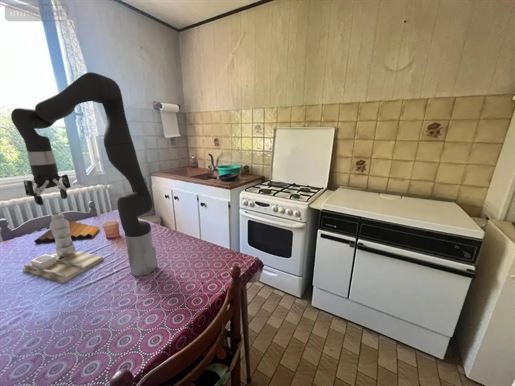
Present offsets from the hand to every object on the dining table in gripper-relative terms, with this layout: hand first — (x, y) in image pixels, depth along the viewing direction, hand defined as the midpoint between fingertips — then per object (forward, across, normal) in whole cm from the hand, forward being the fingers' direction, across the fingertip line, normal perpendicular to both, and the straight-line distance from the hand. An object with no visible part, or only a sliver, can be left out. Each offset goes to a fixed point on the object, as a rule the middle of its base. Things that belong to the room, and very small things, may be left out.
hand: (52, 201), depth 91 cm
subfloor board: (+27, +4, +4) cm, 27 cm away
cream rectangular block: (+25, +8, -1) cm, 26 cm away
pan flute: (+27, -22, -25) cm, 43 cm away
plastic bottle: (+26, 0, 0) cm, 26 cm away
